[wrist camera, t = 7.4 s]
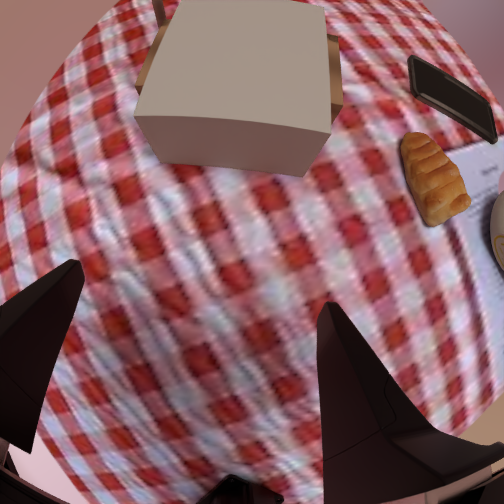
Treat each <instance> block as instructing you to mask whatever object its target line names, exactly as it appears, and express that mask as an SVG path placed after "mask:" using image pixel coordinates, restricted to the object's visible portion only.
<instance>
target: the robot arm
mask: <svg viewBox="0 0 504 504" xmlns="http://www.w3.org/2000/svg"><path fill="white" fill-rule="evenodd" d="M84 282H85V276H84V272H83V269H82V265H81V262H80V261H79V260H74V259H69V260H68V261H66V262H64V263H63V264H61V265H60V266H58V267H57V268H55V269H53V270H52V271H50V272H49V273H47V274H46V275H44V276H43V277H41V278H40V279H38V280H37V281H35V282H34V283H32V284H31V285H29V286H28V287H26V288H25V289H23V290H22V291H21V292H19V293H18V294H16V295H15V296H13V297H12V298H11V299H9V300H8V301H6V302H5V303H4V304H3V305H1V306H0V504H70V503H67V502H65V501H63V500H61V499H59V498H57V497H55V496H53V495H51V494H49V493H47V492H44V491H43V490H41V489H39V488H37V487H35V486H34V485H32V484H30V483H28V482H27V481H25V480H23V479H22V478H20V477H19V474H18V472H17V470H16V468H15V465H14V463H13V461H12V459H11V456H10V453H9V451H8V448H9V444H10V443H11V444H12V445H14V446H16V447H18V448H20V449H21V450H23V451H25V452H27V453H29V454H31V451H32V447H33V442H34V437H35V433H36V429H37V424H38V420H39V417H40V413H41V408H42V405H43V401H44V398H45V394H46V391H47V388H48V384H49V381H50V378H51V375H52V372H53V369H54V366H55V363H56V360H57V357H58V355H59V352H60V349H61V346H62V344H63V341H64V339H65V336H66V333H67V331H68V328H69V326H70V323H71V321H72V318H73V316H74V313H75V310H76V306H77V303H78V300H79V297H80V294H81V291H82V288H83V285H84ZM317 372H318V384H319V397H320V412H321V429H322V450H323V486H324V504H504V468H502V469H500V470H498V471H496V472H493V473H492V471H491V464H493V463H495V462H497V461H498V460H500V459H502V458H504V444H503V443H501V442H496V443H494V444H492V445H489V446H488V445H487V446H486V445H479V444H475V443H472V442H470V441H466V440H464V439H461V438H458V437H455V436H452V435H449V434H446V433H443V432H441V431H439V430H437V429H436V428H435V427H433V426H432V425H431V424H430V423H429V422H428V421H427V419H426V418H425V417H424V416H423V415H422V414H421V412H420V411H419V410H418V409H417V408H416V406H415V405H414V404H413V403H412V402H411V401H410V399H409V398H408V397H407V396H406V395H405V393H404V392H403V391H402V389H401V388H400V387H399V385H398V384H397V383H396V381H395V380H394V379H393V377H392V376H391V374H389V372H388V370H387V369H386V368H385V366H384V365H383V363H382V362H381V361H380V359H379V358H378V357H377V355H376V354H375V352H374V351H373V350H372V348H371V347H370V346H369V344H368V343H367V341H366V340H365V339H364V337H363V336H362V335H361V333H360V332H359V331H358V329H357V328H356V327H355V325H354V324H353V323H352V321H351V320H350V319H349V317H348V316H347V315H346V313H345V312H344V311H343V309H342V308H341V307H340V305H339V304H338V303H336V302H329V301H327V302H326V303H325V304H324V306H323V308H322V310H321V312H320V314H319V316H318V319H317ZM229 479H233V480H229ZM277 499H280V500H277ZM283 501H284V497H283V496H282V495H279V494H277V493H274V492H273V491H271V490H268V489H266V488H263V487H261V486H258V485H256V484H254V483H250V482H248V481H245V480H243V479H241V478H239V477H237V476H235V475H228V476H226V477H225V478H224V479H223V480H222V481H221V482H220V483H219V484H218V485H217V486H216V487H215V488H213V489H212V490H211V491H210V492H209V493H208V494H207V495H206V496H204V497H203V498H202V499H201V500H200V501H199V502H197V503H196V504H281V503H282V502H283Z"/></svg>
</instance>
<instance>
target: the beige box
mask: <svg viewBox="0 0 504 504" xmlns="http://www.w3.org/2000/svg"><path fill="white" fill-rule="evenodd" d="M133 116H134V118H135V120H136V122H137V123H138V125H139V127H140V129H141V130H142V132H143V134H144V135H145V137H146V139H147V141H148V142H149V144H150V146H151V147H152V149H153V151H154V153H155V154H156V156H157V158H158V159H159V161H160V163H171V164H186V165H200V166H212V167H223V168H233V169H242V170H251V171H260V172H268V173H275V174H283V175H290V176H297V177H303V176H304V175H305V173H306V172H307V170H308V169H309V167H310V166H311V164H312V163H313V161H314V160H315V158H316V156H317V155H318V153H319V152H320V150H321V149H322V147H323V146H324V144H325V143H326V141H327V140H328V138H329V137H330V135H331V97H330V75H329V58H328V44H327V33H326V22H325V13H324V7H321V6H316V5H311V4H306V3H301V2H295V1H289V0H181V2H180V4H179V6H178V8H177V10H176V12H175V14H174V16H173V18H172V20H171V22H170V24H169V26H168V28H167V30H166V32H165V34H164V37H163V39H162V41H161V43H160V46H159V48H158V50H157V53H156V55H155V57H154V60H153V62H152V65H151V67H150V70H149V72H148V75H147V78H146V80H145V83H144V86H143V88H142V91H141V94H140V97H139V100H138V103H137V106H136V109H135V112H134V115H133Z"/></svg>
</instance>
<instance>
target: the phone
mask: <svg viewBox="0 0 504 504" xmlns="http://www.w3.org/2000/svg"><path fill="white" fill-rule="evenodd" d="M407 62H409V63H408V70H409V79H410V90H411V93H412V95H413V96H414V97H415V98H416V99H418V100H419V101H421V102H423V103H425V104H427V105H429V106H431V107H432V108H434V109H436V110H438V111H440V112H441V113H443V114H445V115H447V116H448V117H450V118H452V119H454V120H455V121H457V122H458V123H460V124H462V125H463V126H465V127H467V128H468V129H470V130H471V131H473V132H474V133H476V134H477V135H479V136H480V137H482V138H483V139H485V140H486V141H487V142H489V143H490V144H495V143H496V142H497V141H498V137H497V132H496V127H495V122H494V117H493V113H492V109H491V106H490V104H489V102H488V101H487V100H486V99H485V98H483V97H482V96H481V95H479V94H478V93H476V92H475V91H474V90H472V89H471V88H469V87H468V86H466V85H465V84H463V83H462V82H460V81H459V80H457V79H456V78H454V77H452V76H451V75H449V74H448V73H446V72H444V71H443V70H441V69H439V68H437V67H436V66H434V65H432V64H430V63H429V62H427V61H425V60H423V59H421V58H419V57H417V56H415V55H411V56H410V57H409V58H408V60H407ZM410 72H411V74H410Z"/></svg>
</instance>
